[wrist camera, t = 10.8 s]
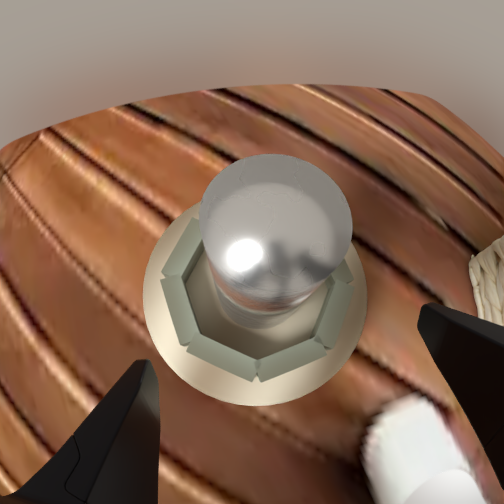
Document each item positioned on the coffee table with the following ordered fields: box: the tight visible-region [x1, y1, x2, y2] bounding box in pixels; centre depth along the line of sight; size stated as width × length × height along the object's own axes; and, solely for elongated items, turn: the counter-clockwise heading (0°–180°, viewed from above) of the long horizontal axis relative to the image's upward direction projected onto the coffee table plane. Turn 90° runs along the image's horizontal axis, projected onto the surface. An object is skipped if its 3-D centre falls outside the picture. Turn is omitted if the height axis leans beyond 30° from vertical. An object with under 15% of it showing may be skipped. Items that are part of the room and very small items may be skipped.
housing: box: [199, 154, 353, 329], centre depth 14 cm, size 5×5×9 cm
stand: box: [143, 201, 367, 406], centre depth 19 cm, size 14×14×4 cm
